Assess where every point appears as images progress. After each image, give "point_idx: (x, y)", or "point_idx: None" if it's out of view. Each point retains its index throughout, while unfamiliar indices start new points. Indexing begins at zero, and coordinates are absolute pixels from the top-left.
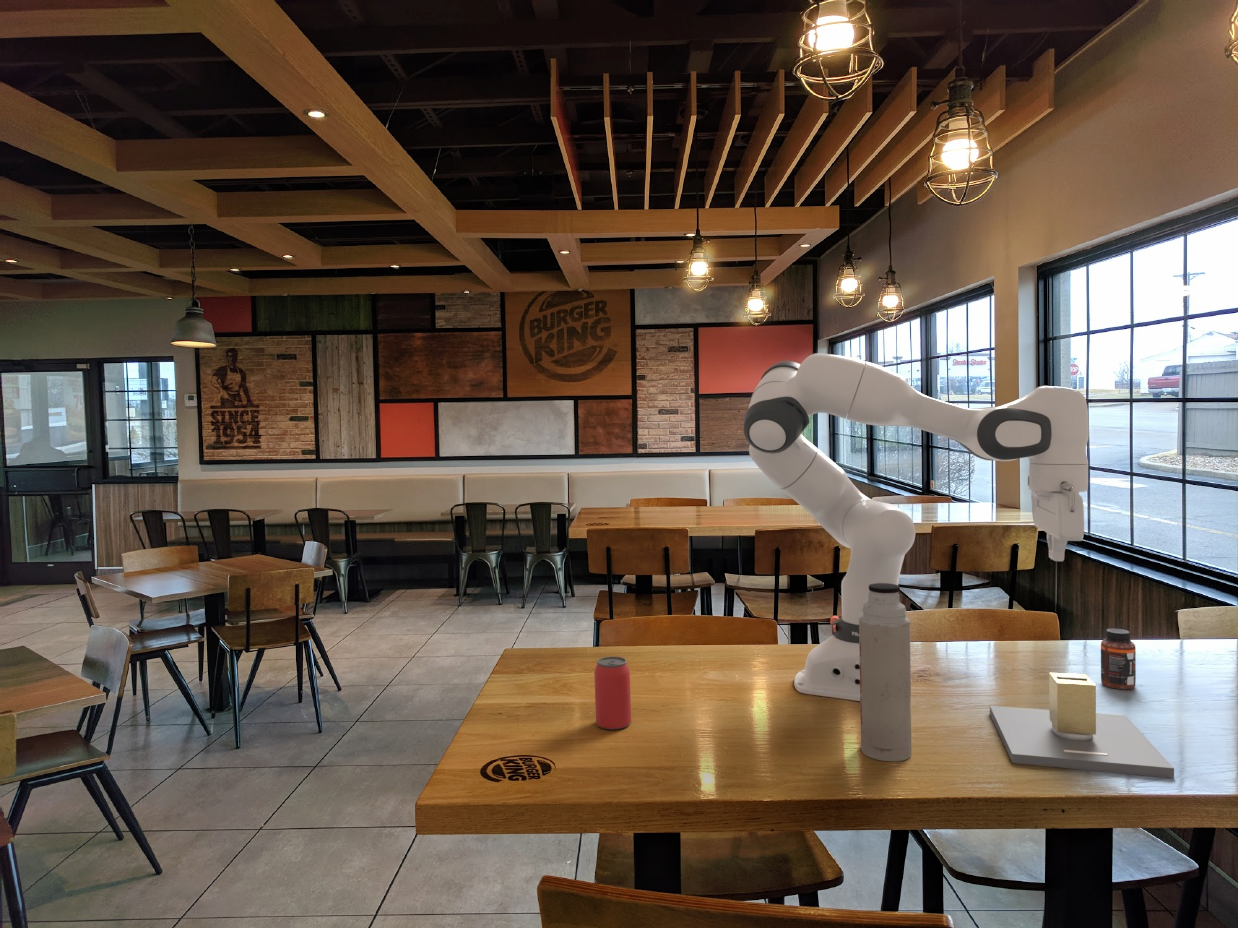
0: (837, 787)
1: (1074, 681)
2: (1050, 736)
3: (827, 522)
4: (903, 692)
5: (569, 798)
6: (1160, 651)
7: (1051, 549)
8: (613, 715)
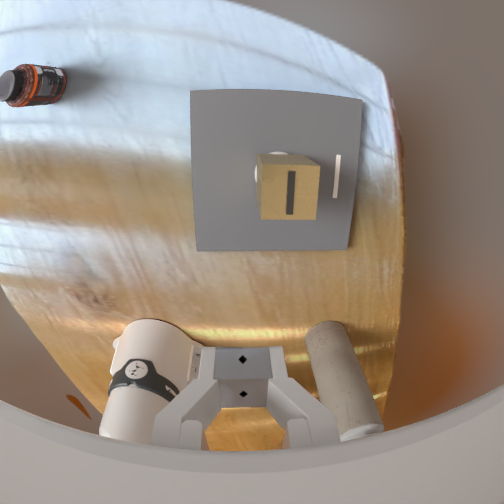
0: (382, 353)
1: (305, 192)
2: None
3: None
4: (360, 368)
5: None
6: None
7: (238, 405)
8: None
